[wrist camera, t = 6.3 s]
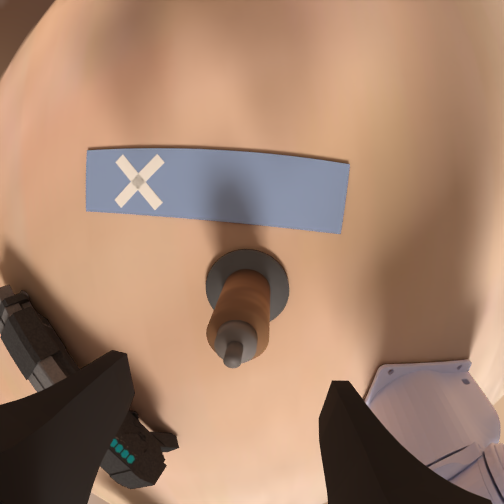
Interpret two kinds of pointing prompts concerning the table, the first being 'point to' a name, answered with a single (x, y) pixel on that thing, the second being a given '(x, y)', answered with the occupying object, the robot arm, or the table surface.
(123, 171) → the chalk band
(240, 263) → the coaster
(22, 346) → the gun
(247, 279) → the awl
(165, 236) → the table surface
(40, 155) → the table surface
